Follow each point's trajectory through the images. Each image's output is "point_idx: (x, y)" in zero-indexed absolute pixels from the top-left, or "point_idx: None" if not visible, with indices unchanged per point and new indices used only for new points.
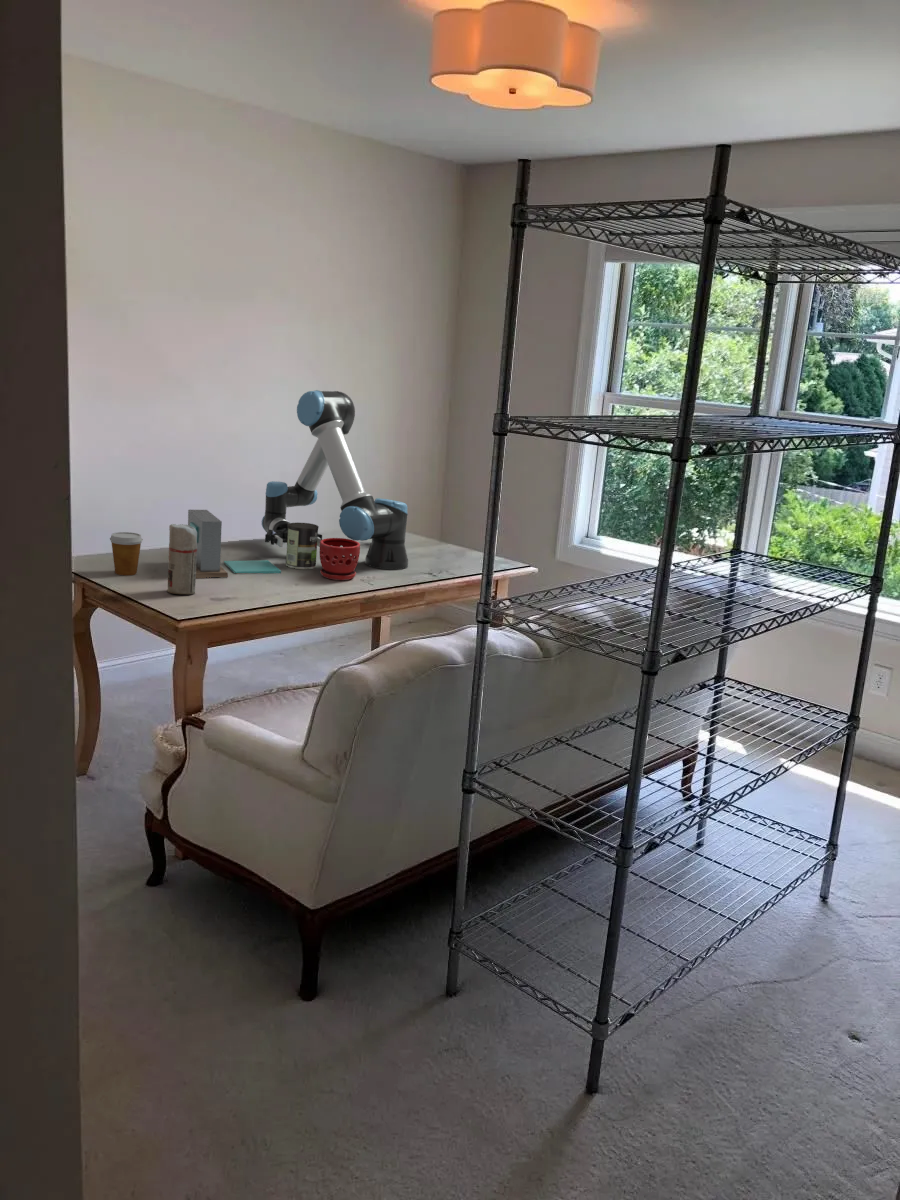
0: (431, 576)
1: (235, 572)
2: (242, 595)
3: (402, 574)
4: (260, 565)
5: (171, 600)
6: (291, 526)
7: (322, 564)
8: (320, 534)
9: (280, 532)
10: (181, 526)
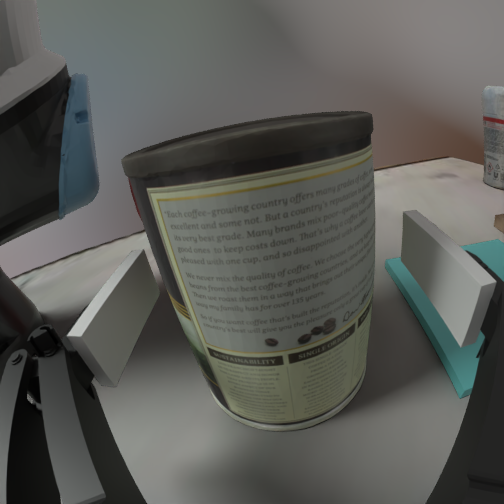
0: (32, 279)
1: (497, 241)
2: (426, 181)
3: (54, 287)
4: None
5: None
6: (342, 112)
7: None
8: (13, 357)
9: (486, 480)
10: (496, 86)
